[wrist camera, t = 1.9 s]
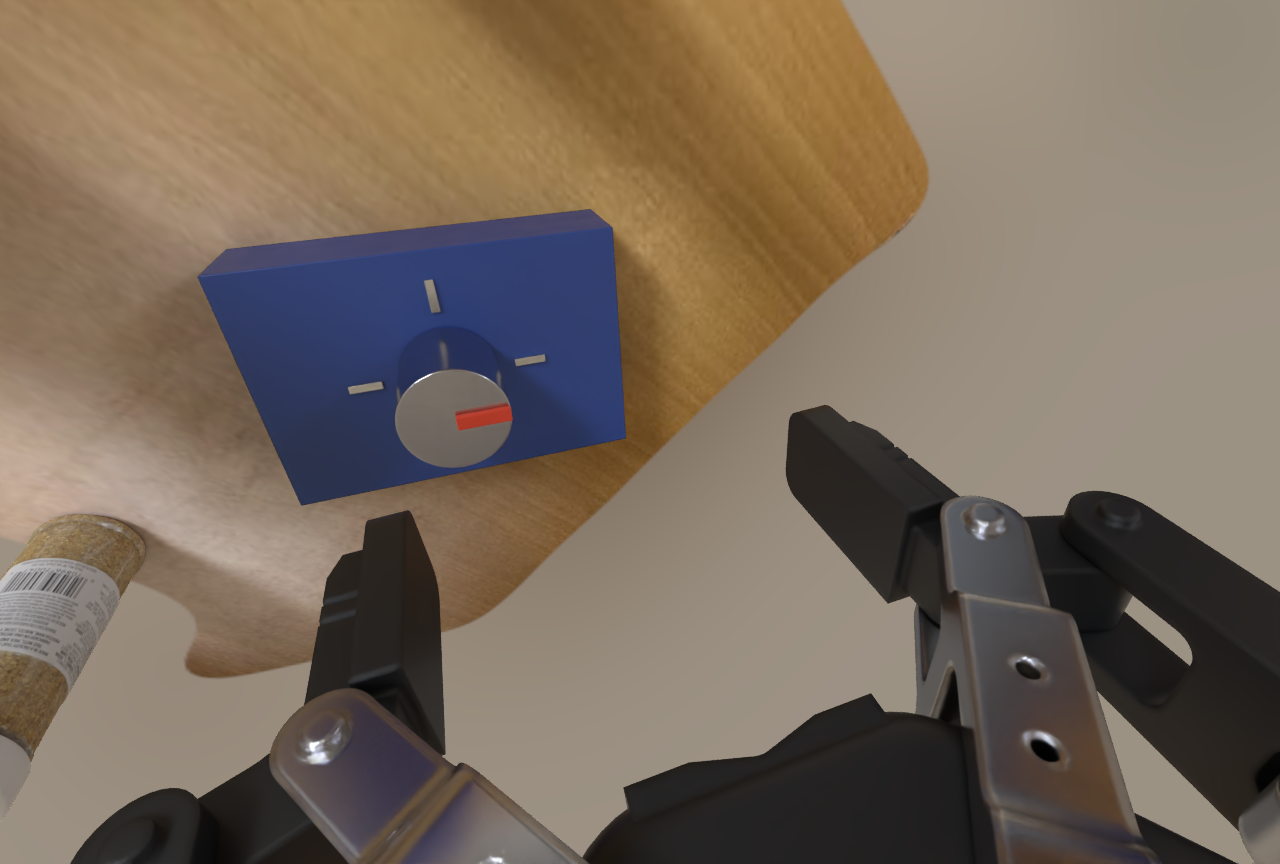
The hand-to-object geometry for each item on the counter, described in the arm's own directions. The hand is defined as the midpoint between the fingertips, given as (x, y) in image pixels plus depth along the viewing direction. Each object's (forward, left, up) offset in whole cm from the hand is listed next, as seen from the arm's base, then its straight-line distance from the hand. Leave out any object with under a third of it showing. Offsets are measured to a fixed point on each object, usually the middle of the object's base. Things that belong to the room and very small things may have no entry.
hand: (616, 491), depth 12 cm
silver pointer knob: (-4, -4, -16) cm, 17 cm away
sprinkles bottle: (-22, -12, -20) cm, 33 cm away
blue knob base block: (-3, -4, -20) cm, 21 cm away
